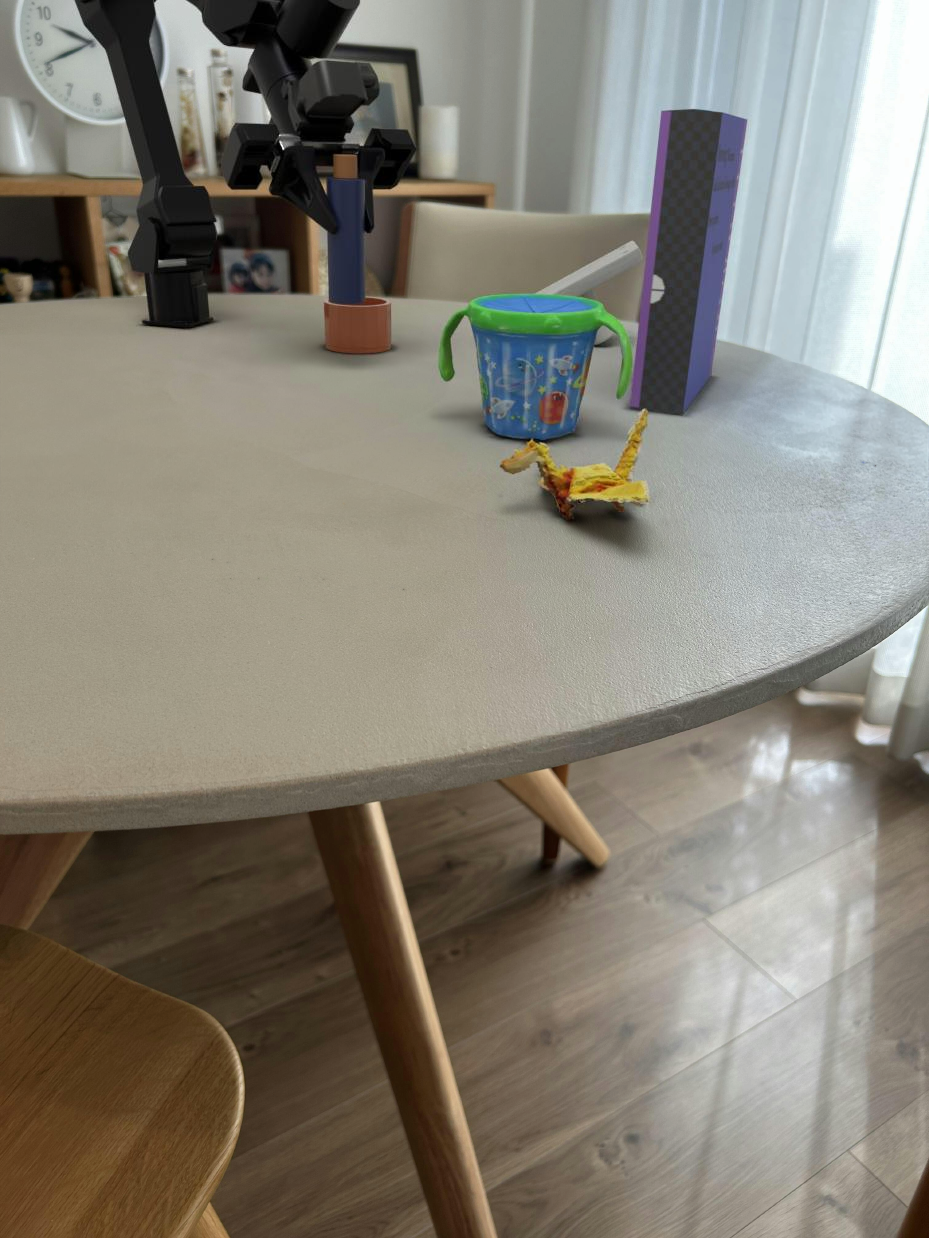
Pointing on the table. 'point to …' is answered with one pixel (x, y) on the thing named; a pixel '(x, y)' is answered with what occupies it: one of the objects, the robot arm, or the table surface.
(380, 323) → the terracotta round pot
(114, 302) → the table surface
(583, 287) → the door handle
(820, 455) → the table surface
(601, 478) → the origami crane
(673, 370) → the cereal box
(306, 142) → the robot arm
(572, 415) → the snack cup
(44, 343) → the table surface
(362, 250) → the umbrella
